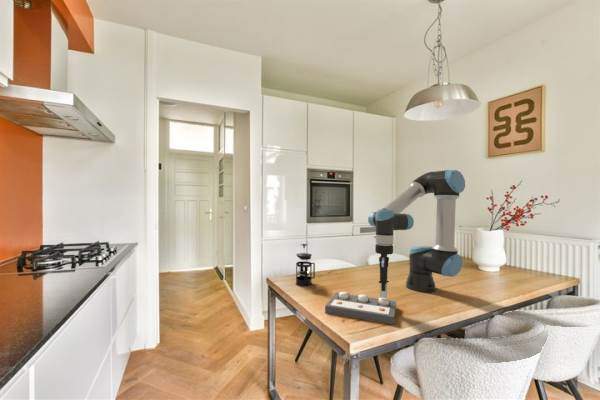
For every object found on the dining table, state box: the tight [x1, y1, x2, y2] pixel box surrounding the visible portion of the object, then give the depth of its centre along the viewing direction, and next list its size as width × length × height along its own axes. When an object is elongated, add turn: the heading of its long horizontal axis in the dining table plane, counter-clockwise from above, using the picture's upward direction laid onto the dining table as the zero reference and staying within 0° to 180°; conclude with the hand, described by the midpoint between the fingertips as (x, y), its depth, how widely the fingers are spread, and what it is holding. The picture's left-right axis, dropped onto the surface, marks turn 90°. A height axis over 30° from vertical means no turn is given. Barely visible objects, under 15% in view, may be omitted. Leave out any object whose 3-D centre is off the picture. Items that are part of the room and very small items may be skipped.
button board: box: [324, 292, 397, 325], centre depth 120 cm, size 28×18×4 cm, turn 67°
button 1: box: [338, 291, 350, 300], centre depth 127 cm, size 4×4×3 cm
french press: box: [295, 243, 316, 287], centre depth 157 cm, size 12×9×23 cm
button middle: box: [357, 293, 369, 303], centre depth 123 cm, size 4×4×3 cm
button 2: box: [378, 297, 390, 306], centre depth 120 cm, size 4×4×3 cm
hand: (383, 297), depth 120 cm, fingers closed
